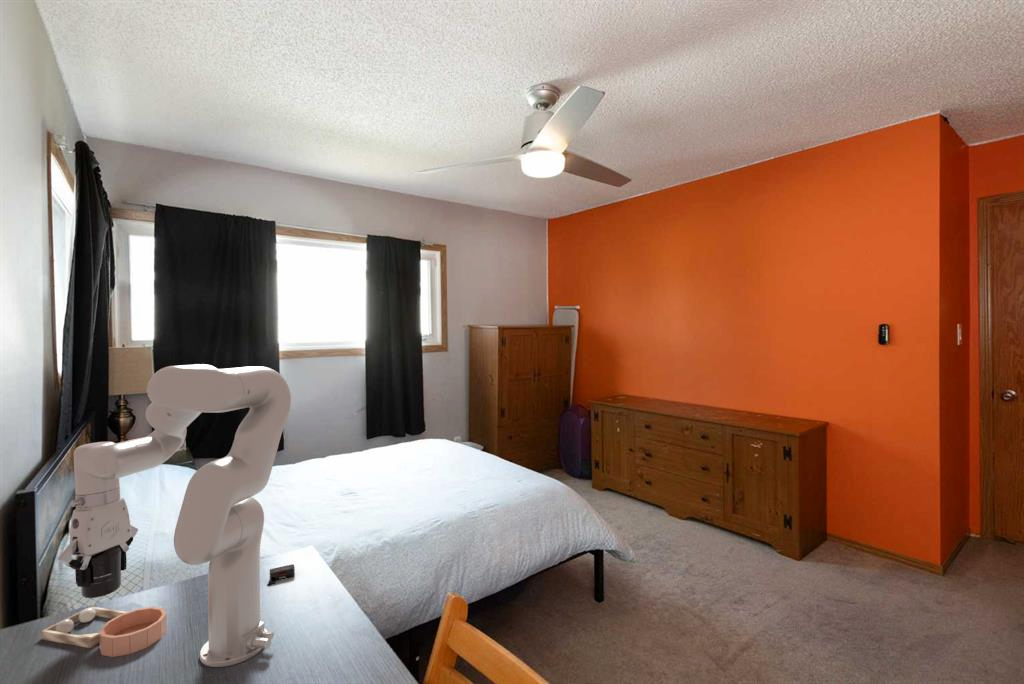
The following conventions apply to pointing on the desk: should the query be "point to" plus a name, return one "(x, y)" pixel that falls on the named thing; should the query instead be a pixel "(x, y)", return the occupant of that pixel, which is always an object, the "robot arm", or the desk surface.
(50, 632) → the tray
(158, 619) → the bowl
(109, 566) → the supplement bottle
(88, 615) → the pebble
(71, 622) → the pebble
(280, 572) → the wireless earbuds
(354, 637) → the desk surface
